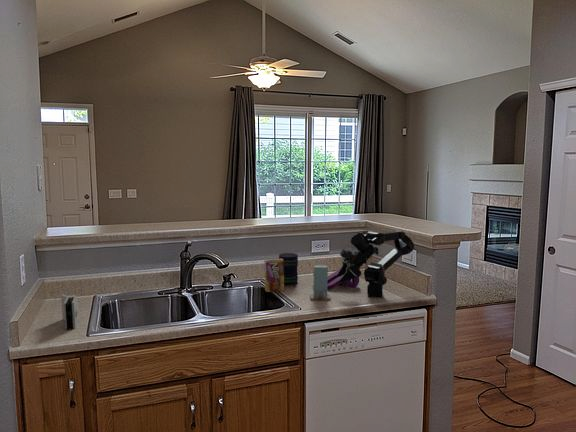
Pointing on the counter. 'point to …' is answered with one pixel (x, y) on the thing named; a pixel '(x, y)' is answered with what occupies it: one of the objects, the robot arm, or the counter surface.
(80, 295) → the counter surface
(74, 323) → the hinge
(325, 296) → the brown base with posts
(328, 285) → the mounting bracket
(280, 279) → the candy box
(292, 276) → the storage jar
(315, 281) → the door
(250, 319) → the counter surface
